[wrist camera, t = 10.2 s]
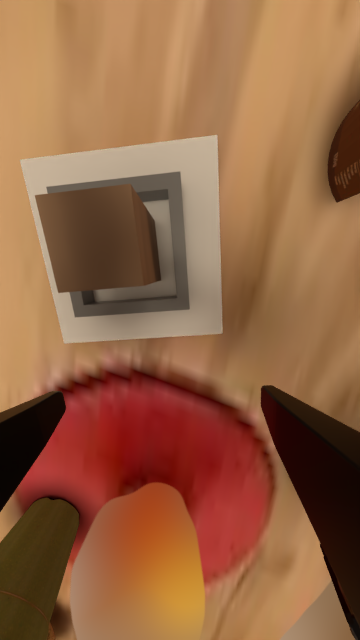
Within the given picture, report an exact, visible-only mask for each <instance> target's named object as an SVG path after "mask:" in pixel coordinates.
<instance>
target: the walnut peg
mask: <svg viewBox="0 0 360 640" xmlns="http://www.w3.org/2000/svg"><path fill="white" fill-rule="evenodd" d="M35 199H36V203H37V207H38V211H39V215H40V220H41V224H42V228H43V232H44V236H45V240H46V245H47V249H48V253H49V257H50V261H51V265H52V270H53V274H54V278H55V282H56V286H57V290H58V293H65V292H77V291H89V290H100V289H112V288H124V287H136V286H145V285H148V284H151V283H154V282H158V281H161V274H160V265H159V255H158V246H157V237H156V227H155V220H154V219H153V217H152V216H151V214H150V213H149V211H148V210H147V208H146V207H145V205H144V204H143V202H142V201H141V199H140V198H139V196H138V194H137V193H136V191H135V190H134V188H133V187H132V185H131V184H123V185H115V186H107V187H99V188H90V189H82V190H74V191H65V192H57V193H49V194H40V195H35Z"/></svg>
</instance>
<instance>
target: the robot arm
mask: <svg viewBox="0 0 360 640" xmlns="http://www.w3.org/2000/svg"><path fill="white" fill-rule="evenodd" d="M261 407H262V411H263V414H264V416H265V419H266V422H267V425H268V428H269V431H270V434H271V436H272V439H273V442H274V445H275V447H276V449H277V451H278V454H279V456H280V458H281V460H282V462H283V464H284V466H285V469H286V471H287V473H288V475H289V477H290V479H291V481H292V483H293V486H294V488H295V490H296V492H297V494H298V496H299V498H300V500H301V503H302V505H303V507H304V509H305V511H306V513H307V515H308V518H309V520H310V522H311V524H312V526H313V528H314V530H315V532H316V535H317V537H318V539H319V541H320V543H321V544H320V547H321V550H322V552H323V555H324V560H325V563H326V565H327V568H328V571H329V573H330V576H331V579H332V582H333V584H334V587H335V590H336V592H337V595H338V598H339V601H340V603H341V606H342V609H343V611H344V614H345V617H346V620H347V622H348V624H349V627H350V630H351V632H352V635H353V636H354V638H355V640H360V432H358V431H356V430H354V429H352V428H350V427H349V426H347V425H345V424H343V423H341V422H339V421H337V420H335V419H334V418H332V417H330V416H328V415H326V414H324V413H322V412H321V411H319V410H317V409H315V408H313V407H311V406H309V405H308V404H306V403H304V402H302V401H300V400H298V399H296V398H294V397H293V396H291V395H289V394H287V393H285V392H283V391H281V390H280V389H278V388H276V387H274V386H271V385H267V386H262V388H261ZM65 410H66V405H65V401H64V397H63V393H62V392H61V391H51V392H49V393H46V394H44V395H42V396H39V397H37V398H34V399H32V400H30V401H27V402H25V403H22V404H20V405H18V406H15V407H13V408H10V409H8V410H6V411H3V412H1V413H0V512H1V510H2V509H3V507H4V506H5V504H6V503H7V501H8V500H9V499H10V497H11V496H12V494H13V493H14V491H15V490H16V488H17V487H18V485H19V484H20V482H21V481H22V480H23V478H24V477H25V475H26V474H27V472H28V471H29V469H30V468H31V466H32V465H33V463H34V462H35V460H36V459H37V458H38V456H39V455H40V453H41V452H42V450H43V449H44V447H45V446H46V444H47V442H48V441H49V439H50V437H51V435H52V434H53V432H54V430H55V428H56V427H57V425H58V423H59V421H60V420H61V418H62V416H63V414H64V413H65Z"/></svg>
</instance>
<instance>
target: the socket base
mask: <svg viewBox="0 0 360 640" xmlns="http://www.w3.org/2000/svg"><path fill="white" fill-rule="evenodd" d="M20 163H21V167H22V171H23V175H24V179H25V183H26V187H27V192H28V196H29V200H30V204H31V208H32V212H33V216H34V220H35V225H36V229H37V233H38V237H39V241H40V245H41V249H42V253H43V258H44V262H45V266H46V270H47V274H48V278H49V282H50V286H51V291H52V295H53V299H54V303H55V307H56V311H57V315H58V319H59V324H60V328H61V332H62V336H63V340H64V343H80V342H96V341H113V340H129V339H145V338H161V337H177V336H194V335H210V334H223V325H222V288H221V250H220V213H219V175H218V138H217V135H212V136H204V137H196V138H188V139H180V140H172V141H165V142H157V143H149V144H141V145H133V146H125V147H117V148H109V149H101V150H93V151H85V152H77V153H69V154H61V155H53V156H45V157H37V158H29V159H22V160H20ZM123 184H131V185H132V187H133V188H134V190H135V191H136V193H137V194H138V196H139V198H140V199H141V201H142V202H143V204H144V205H145V207H146V208H147V210H148V211H149V213H150V214H151V216H152V217H153V219H154V220H155V227H156V237H157V246H158V255H159V265H160V274H161V281H158V282H154V283H151V284H148V285H145V286H136V287H124V288H112V289H100V290H89V291H77V292H65V293H58V290H57V286H56V282H55V278H54V274H53V270H52V265H51V261H50V257H49V253H48V249H47V245H46V240H45V236H44V232H43V228H42V224H41V220H40V215H39V211H38V207H37V203H36V199H35V195H40V194H49V193H57V192H65V191H74V190H82V189H90V188H99V187H107V186H115V185H123Z"/></svg>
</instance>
